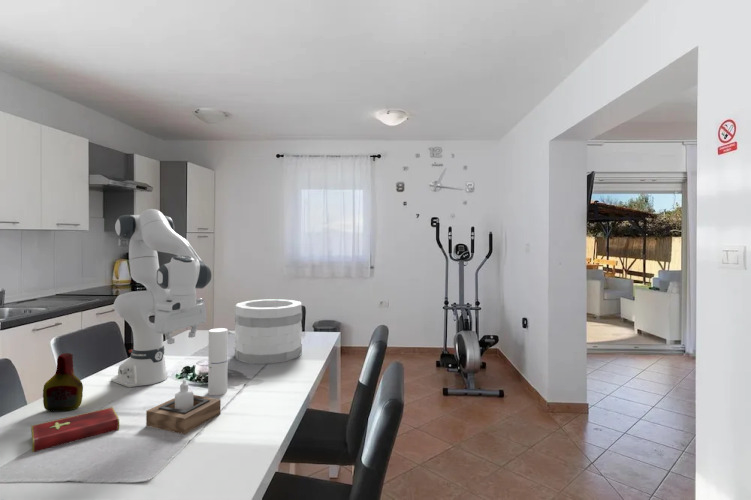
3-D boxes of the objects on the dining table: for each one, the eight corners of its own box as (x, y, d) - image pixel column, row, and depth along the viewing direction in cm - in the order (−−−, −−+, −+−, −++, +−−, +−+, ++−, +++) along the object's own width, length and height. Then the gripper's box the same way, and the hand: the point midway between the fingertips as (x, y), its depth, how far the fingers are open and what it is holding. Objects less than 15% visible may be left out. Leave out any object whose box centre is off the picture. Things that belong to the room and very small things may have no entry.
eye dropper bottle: (176, 413, 135) (177, 378, 134) (194, 412, 136) (194, 377, 136) (173, 418, 130) (173, 383, 130) (191, 417, 132) (191, 382, 131)
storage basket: (294, 364, 195) (294, 309, 194) (223, 363, 195) (224, 308, 195) (307, 346, 230) (307, 299, 229) (247, 345, 230) (248, 298, 230)
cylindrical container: (220, 396, 154) (221, 332, 154) (204, 394, 156) (204, 331, 155) (230, 389, 161) (231, 328, 161) (215, 387, 163) (215, 327, 162)
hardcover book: (119, 431, 126) (119, 418, 126) (32, 454, 112) (32, 439, 112) (112, 418, 135) (112, 406, 135) (31, 438, 121) (31, 424, 121)
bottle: (87, 405, 144) (87, 350, 144) (75, 412, 138) (75, 356, 137) (51, 406, 143) (51, 351, 142) (38, 414, 136) (38, 356, 136)
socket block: (146, 425, 129) (146, 409, 129) (184, 406, 144) (184, 391, 144) (184, 434, 123) (184, 417, 123) (220, 413, 139) (220, 398, 138)
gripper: (197, 296, 150) (196, 332, 151) (151, 305, 131) (150, 346, 132) (211, 298, 148) (210, 334, 149) (165, 307, 129) (164, 348, 130)
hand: (181, 340), depth 140 cm, fingers open, 8 cm apart
